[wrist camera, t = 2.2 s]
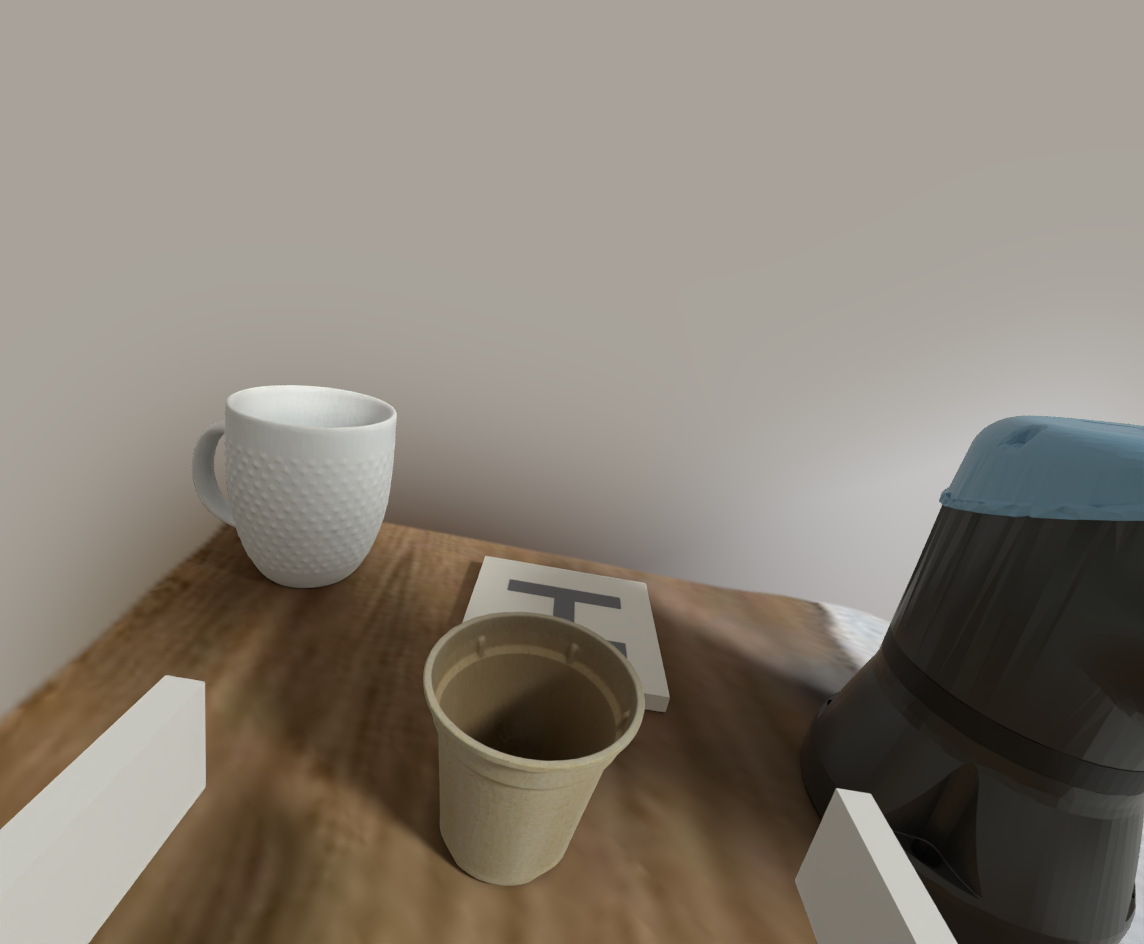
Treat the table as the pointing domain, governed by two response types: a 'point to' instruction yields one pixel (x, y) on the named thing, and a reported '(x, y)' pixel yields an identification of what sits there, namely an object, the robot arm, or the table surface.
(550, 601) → the letter board
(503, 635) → the flower pot
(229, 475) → the mug
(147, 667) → the table surface
